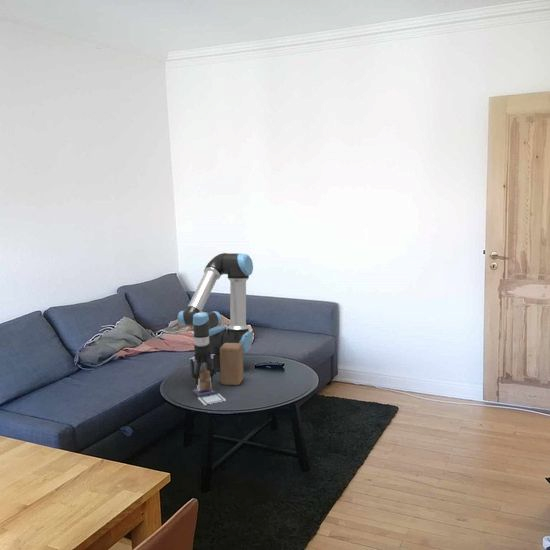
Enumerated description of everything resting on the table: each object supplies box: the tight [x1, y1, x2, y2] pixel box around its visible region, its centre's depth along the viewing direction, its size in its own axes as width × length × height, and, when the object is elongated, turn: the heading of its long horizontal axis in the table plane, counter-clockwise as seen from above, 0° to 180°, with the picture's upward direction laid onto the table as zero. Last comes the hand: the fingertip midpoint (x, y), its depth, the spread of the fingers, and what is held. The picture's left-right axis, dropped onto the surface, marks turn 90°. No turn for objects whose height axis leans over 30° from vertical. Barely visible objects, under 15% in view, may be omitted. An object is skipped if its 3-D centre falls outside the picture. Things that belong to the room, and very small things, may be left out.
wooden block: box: [220, 343, 245, 386], centre depth 300 cm, size 10×10×20 cm
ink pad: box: [192, 387, 217, 398], centre depth 288 cm, size 9×9×1 cm
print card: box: [197, 393, 227, 406], centre depth 279 cm, size 11×10×1 cm
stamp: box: [198, 368, 212, 392], centre depth 287 cm, size 5×5×10 cm
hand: (204, 389), depth 288 cm, fingers closed on stamp, 5 cm apart
